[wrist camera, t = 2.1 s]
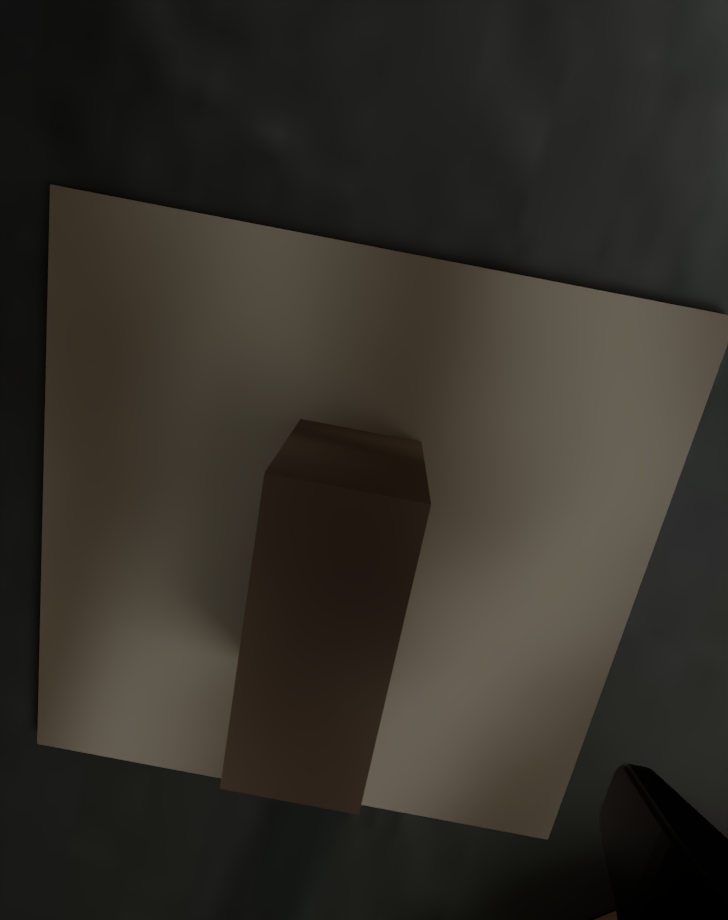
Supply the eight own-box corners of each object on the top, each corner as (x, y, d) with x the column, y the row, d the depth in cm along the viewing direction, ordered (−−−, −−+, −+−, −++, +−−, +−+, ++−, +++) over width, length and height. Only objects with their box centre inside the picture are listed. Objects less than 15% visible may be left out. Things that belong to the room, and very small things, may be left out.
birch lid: (59, 715, 16) (-67, 878, 12) (77, 191, 12) (-100, 144, 8) (538, 805, 16) (591, 1001, 12) (710, 313, 12) (884, 334, 8)
